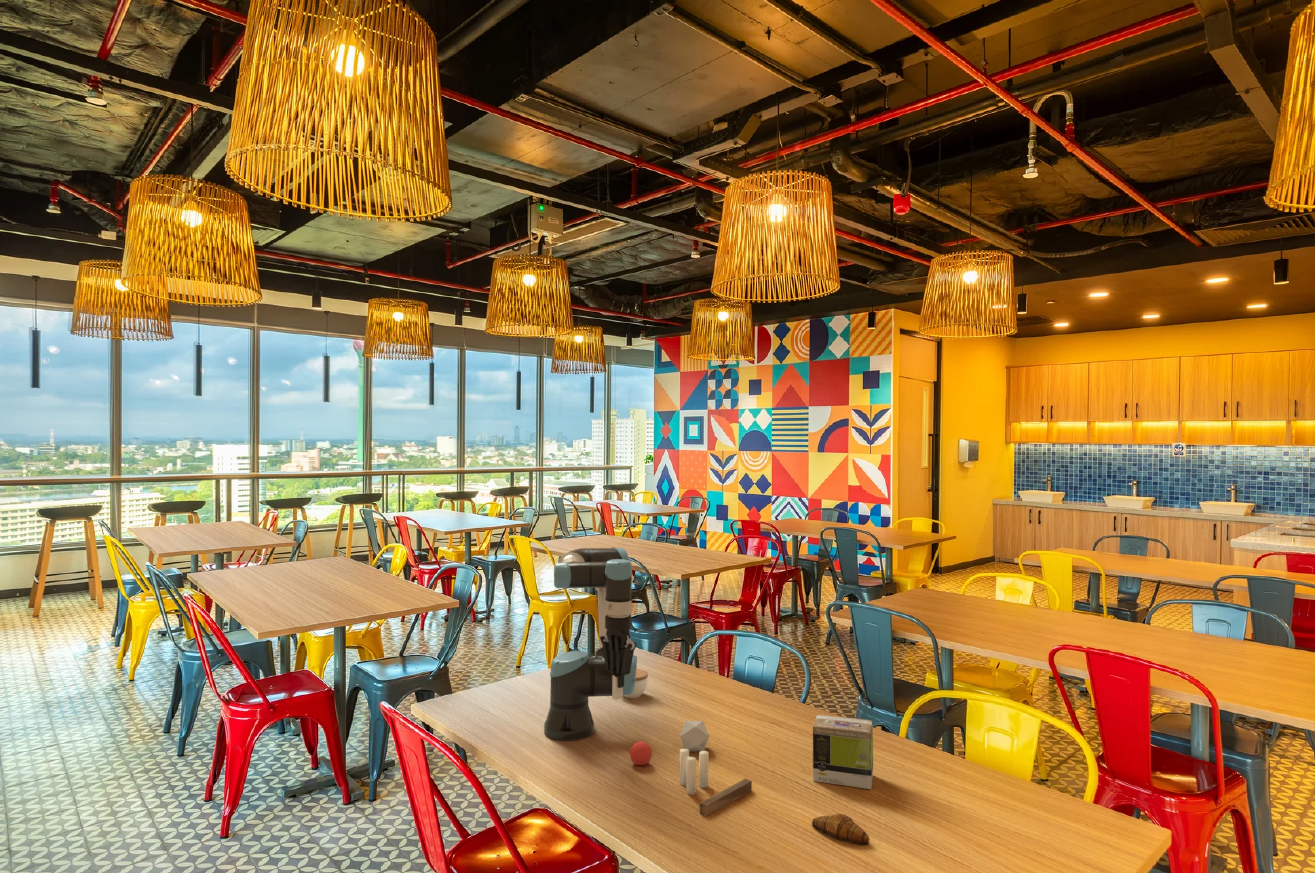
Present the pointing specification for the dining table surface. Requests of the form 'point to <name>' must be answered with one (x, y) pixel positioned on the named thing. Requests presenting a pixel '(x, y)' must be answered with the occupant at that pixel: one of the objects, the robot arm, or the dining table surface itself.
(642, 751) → the ball
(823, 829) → the croissant
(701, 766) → the back pin left
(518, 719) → the dining table surface
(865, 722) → the tea box
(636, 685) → the lidded jar
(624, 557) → the robot arm
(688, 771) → the back pin right
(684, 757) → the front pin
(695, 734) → the die
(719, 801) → the back rail
